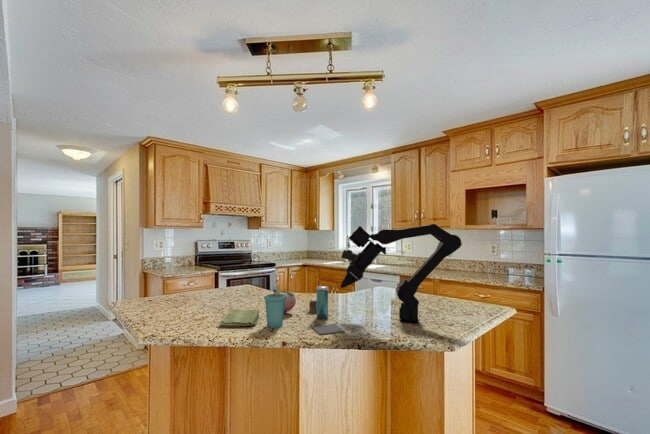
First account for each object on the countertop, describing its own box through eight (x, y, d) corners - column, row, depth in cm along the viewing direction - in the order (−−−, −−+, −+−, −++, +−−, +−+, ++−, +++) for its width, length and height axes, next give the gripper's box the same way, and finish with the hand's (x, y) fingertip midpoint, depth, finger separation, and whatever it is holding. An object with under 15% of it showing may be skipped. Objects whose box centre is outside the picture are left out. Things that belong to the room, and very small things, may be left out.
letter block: (321, 309, 141) (321, 298, 141) (320, 312, 136) (320, 301, 136) (311, 309, 141) (311, 298, 141) (309, 312, 137) (309, 300, 137)
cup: (285, 332, 109) (286, 287, 110) (262, 333, 108) (262, 287, 109) (285, 320, 123) (286, 280, 124) (264, 321, 122) (265, 281, 123)
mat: (334, 324, 118) (334, 323, 118) (344, 332, 110) (344, 331, 110) (311, 327, 115) (311, 326, 115) (319, 335, 106) (319, 333, 107)
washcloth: (217, 329, 113) (218, 320, 113) (229, 315, 131) (229, 307, 131) (255, 328, 114) (256, 319, 114) (261, 315, 132) (262, 307, 132)
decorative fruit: (269, 314, 132) (269, 289, 132) (278, 310, 139) (278, 286, 140) (290, 316, 129) (290, 291, 129) (298, 311, 136) (298, 287, 137)
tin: (329, 316, 129) (330, 286, 129) (326, 320, 124) (326, 288, 125) (318, 315, 130) (318, 285, 131) (314, 318, 126) (314, 287, 126)
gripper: (353, 241, 137) (328, 268, 138) (351, 242, 118) (323, 274, 119) (373, 258, 136) (348, 286, 136) (374, 263, 117) (346, 295, 118)
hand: (341, 285), depth 127 cm, fingers open, 9 cm apart
